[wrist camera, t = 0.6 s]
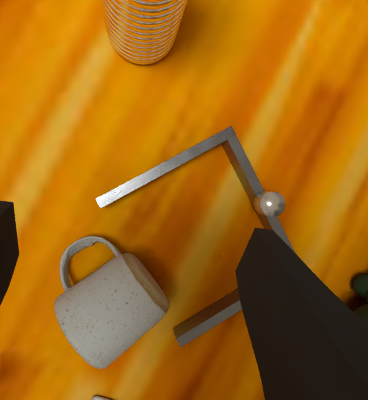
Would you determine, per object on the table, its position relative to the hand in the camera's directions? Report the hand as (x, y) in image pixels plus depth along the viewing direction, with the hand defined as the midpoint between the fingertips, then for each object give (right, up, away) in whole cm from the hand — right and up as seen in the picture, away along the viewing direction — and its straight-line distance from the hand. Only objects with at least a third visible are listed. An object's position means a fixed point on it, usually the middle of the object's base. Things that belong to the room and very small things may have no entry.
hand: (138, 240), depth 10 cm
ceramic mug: (-7, -7, +24) cm, 26 cm away
